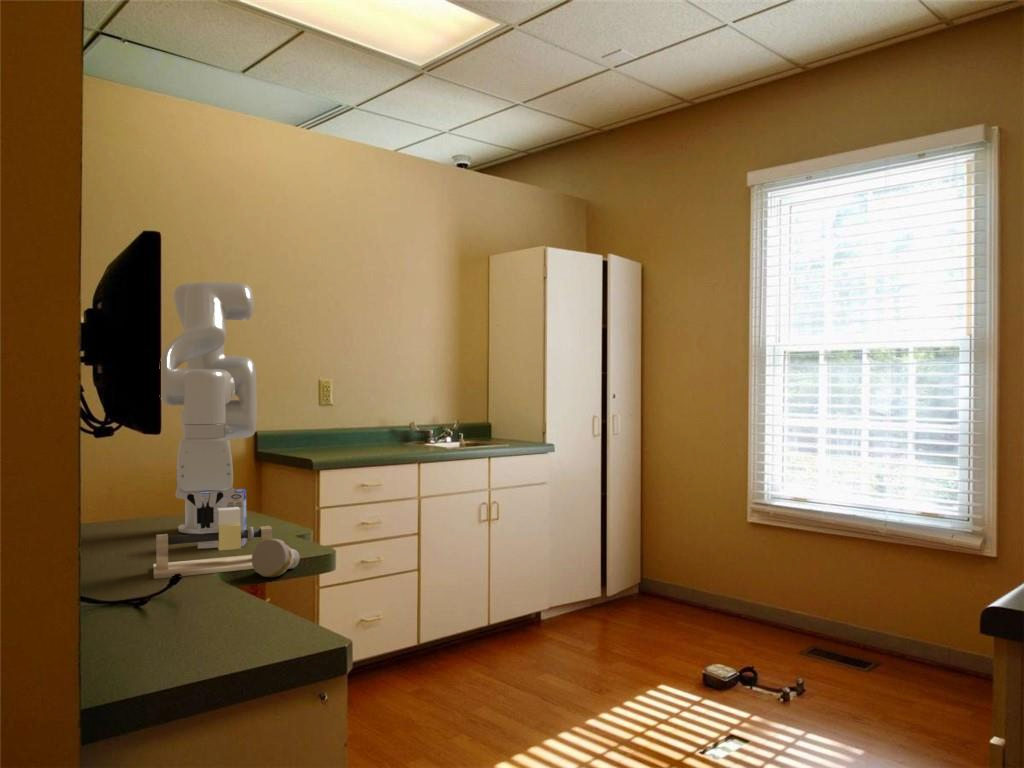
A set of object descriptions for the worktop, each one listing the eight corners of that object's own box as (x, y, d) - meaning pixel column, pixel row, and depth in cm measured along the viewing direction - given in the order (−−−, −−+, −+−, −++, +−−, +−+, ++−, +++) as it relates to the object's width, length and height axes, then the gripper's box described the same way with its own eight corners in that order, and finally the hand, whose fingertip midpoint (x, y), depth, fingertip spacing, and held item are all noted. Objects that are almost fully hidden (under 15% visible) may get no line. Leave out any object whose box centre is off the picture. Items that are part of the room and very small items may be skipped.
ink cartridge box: (247, 542, 174) (246, 478, 174) (245, 547, 168) (245, 481, 168) (200, 544, 171) (200, 479, 171) (197, 549, 166) (196, 482, 166)
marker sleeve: (217, 545, 153) (217, 507, 153) (238, 543, 154) (238, 506, 154) (219, 550, 149) (218, 511, 148) (240, 548, 150) (240, 509, 150)
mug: (310, 567, 151) (307, 529, 146) (279, 601, 143) (274, 561, 138) (279, 555, 153) (274, 517, 148) (246, 588, 146) (241, 548, 140)
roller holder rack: (153, 568, 150) (153, 530, 150) (270, 556, 159) (270, 521, 159) (153, 579, 142) (153, 539, 142) (277, 566, 151) (276, 528, 151)
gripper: (243, 430, 156) (243, 520, 156) (162, 433, 150) (163, 526, 150) (247, 433, 149) (247, 527, 149) (163, 435, 143) (163, 534, 143)
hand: (205, 526), depth 150 cm, fingers closed
